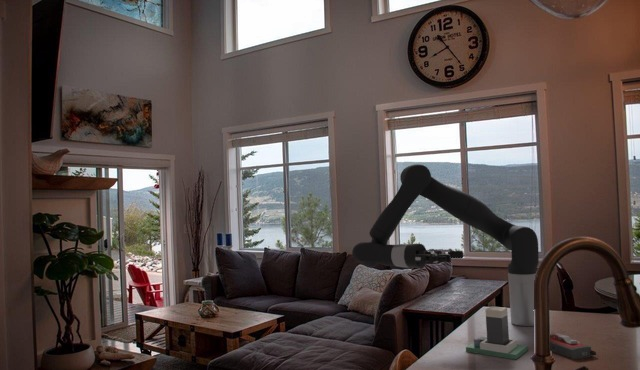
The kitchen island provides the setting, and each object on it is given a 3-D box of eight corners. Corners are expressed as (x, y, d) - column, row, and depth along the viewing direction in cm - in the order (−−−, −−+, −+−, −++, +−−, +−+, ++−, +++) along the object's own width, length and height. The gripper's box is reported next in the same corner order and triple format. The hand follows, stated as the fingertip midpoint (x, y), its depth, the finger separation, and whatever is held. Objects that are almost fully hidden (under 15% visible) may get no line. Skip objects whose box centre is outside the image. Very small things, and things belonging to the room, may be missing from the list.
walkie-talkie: (603, 358, 131) (550, 339, 150) (602, 341, 131) (549, 324, 151) (576, 362, 129) (525, 342, 148) (575, 345, 129) (524, 327, 148)
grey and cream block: (493, 344, 142) (491, 306, 143) (509, 346, 139) (507, 307, 140) (487, 348, 139) (485, 309, 139) (503, 351, 136) (501, 310, 136)
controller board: (479, 342, 149) (479, 330, 149) (527, 349, 140) (527, 336, 140) (466, 351, 141) (465, 337, 141) (515, 359, 132) (515, 345, 132)
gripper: (396, 246, 152) (445, 246, 142) (418, 241, 163) (465, 241, 153) (398, 270, 152) (447, 272, 141) (420, 264, 163) (467, 265, 152)
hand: (456, 256), depth 147 cm, fingers open, 8 cm apart
